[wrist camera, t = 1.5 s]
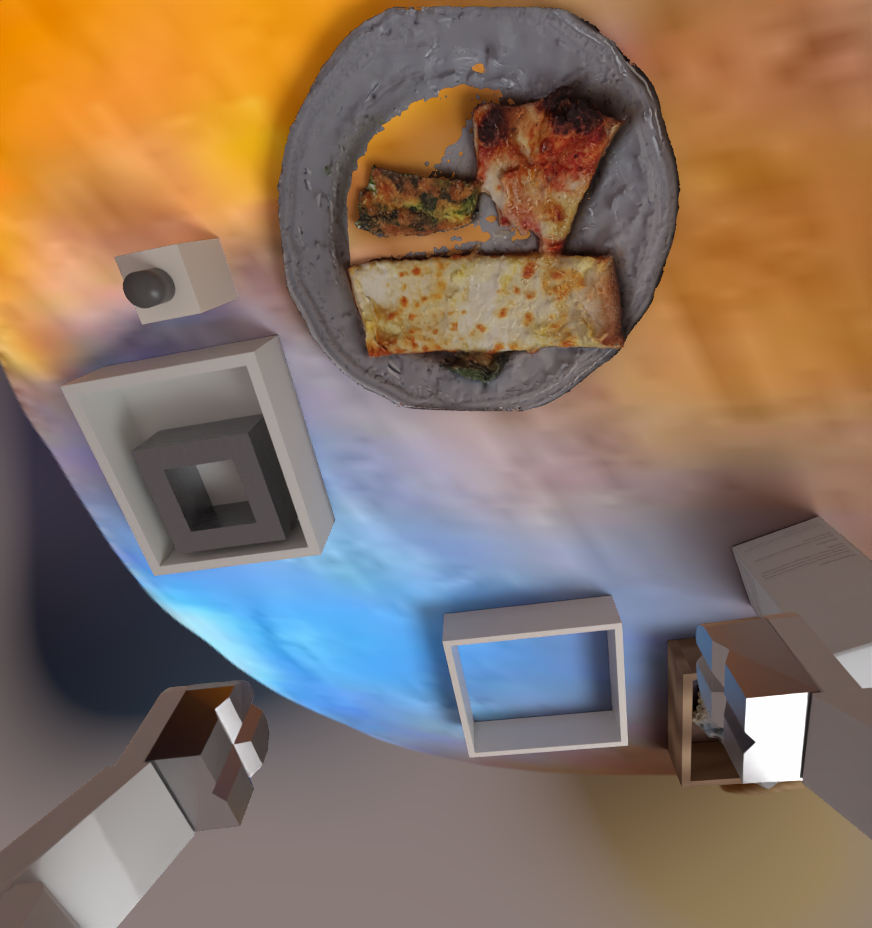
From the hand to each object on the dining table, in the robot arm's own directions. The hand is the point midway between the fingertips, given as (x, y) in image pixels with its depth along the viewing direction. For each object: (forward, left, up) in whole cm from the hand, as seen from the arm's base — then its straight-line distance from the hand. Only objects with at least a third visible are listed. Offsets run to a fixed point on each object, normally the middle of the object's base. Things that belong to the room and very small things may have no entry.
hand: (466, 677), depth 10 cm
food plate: (-6, +1, -32) cm, 33 cm away
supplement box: (+24, +23, -32) cm, 47 cm away
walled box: (+6, -21, -32) cm, 38 cm away
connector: (-7, -18, -32) cm, 37 cm away
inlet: (+8, -21, -32) cm, 39 cm away
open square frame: (+33, +1, -32) cm, 46 cm away
